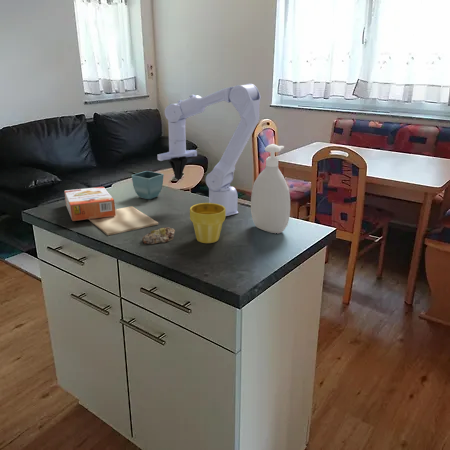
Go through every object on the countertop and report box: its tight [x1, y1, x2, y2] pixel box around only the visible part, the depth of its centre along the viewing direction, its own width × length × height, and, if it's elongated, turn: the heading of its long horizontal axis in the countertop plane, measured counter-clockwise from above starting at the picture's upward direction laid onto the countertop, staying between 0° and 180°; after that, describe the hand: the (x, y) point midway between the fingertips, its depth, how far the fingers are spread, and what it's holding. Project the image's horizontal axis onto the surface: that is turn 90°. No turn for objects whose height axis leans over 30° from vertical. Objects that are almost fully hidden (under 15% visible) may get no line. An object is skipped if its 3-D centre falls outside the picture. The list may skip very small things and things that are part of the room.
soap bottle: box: [250, 143, 291, 234], centre depth 139 cm, size 14×8×27 cm, turn 47°
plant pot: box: [189, 202, 226, 244], centre depth 134 cm, size 10×10×10 cm
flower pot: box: [131, 170, 165, 200], centre depth 172 cm, size 9×9×9 cm
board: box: [87, 205, 159, 236], centre depth 150 cm, size 17×20×1 cm
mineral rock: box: [142, 226, 176, 245], centre depth 136 cm, size 11×4×8 cm
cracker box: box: [64, 186, 116, 222], centre depth 156 cm, size 14×6×21 cm
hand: (178, 178), depth 160 cm, fingers closed
